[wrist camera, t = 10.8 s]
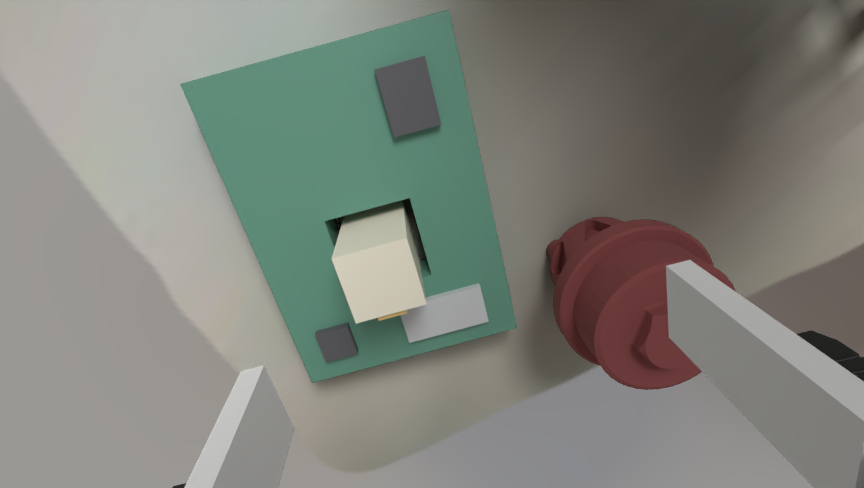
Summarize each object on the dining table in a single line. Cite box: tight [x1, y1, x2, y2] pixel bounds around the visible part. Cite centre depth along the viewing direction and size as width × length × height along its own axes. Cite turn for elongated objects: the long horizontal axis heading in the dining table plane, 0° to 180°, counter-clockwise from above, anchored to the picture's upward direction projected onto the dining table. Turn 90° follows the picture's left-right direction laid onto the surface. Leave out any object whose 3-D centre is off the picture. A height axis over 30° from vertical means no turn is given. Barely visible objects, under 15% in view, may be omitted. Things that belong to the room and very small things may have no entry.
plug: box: [332, 200, 427, 324], centre depth 30 cm, size 5×4×8 cm
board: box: [180, 10, 517, 383], centre depth 31 cm, size 22×16×4 cm
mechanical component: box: [547, 217, 736, 390], centre depth 30 cm, size 12×10×10 cm
